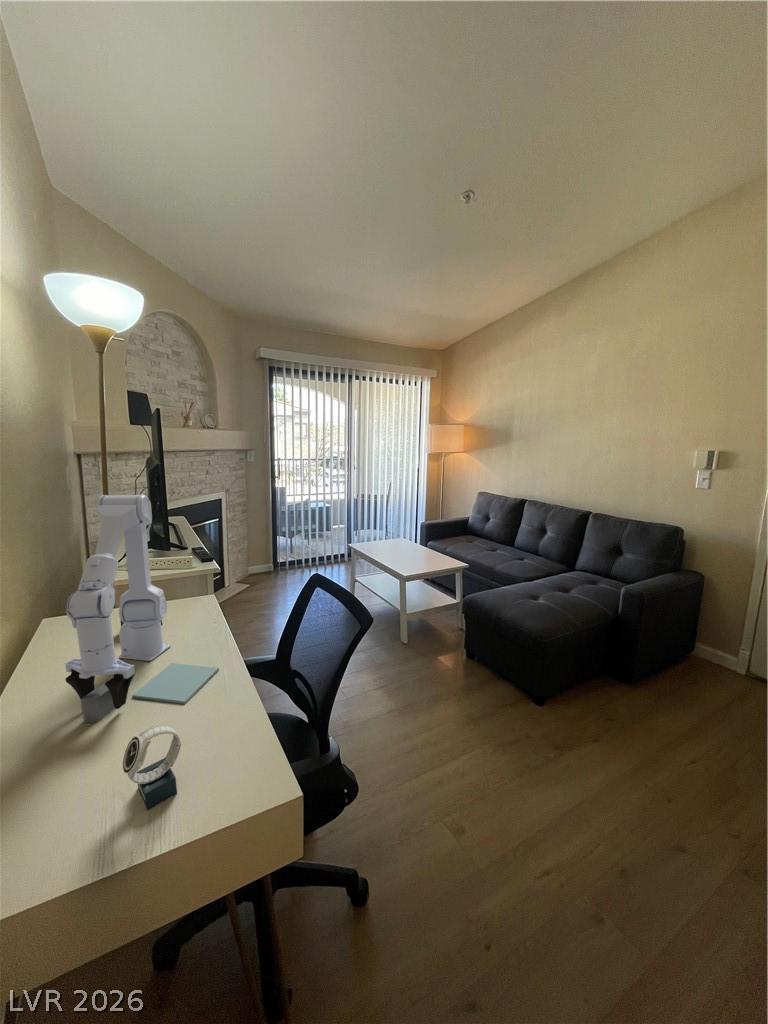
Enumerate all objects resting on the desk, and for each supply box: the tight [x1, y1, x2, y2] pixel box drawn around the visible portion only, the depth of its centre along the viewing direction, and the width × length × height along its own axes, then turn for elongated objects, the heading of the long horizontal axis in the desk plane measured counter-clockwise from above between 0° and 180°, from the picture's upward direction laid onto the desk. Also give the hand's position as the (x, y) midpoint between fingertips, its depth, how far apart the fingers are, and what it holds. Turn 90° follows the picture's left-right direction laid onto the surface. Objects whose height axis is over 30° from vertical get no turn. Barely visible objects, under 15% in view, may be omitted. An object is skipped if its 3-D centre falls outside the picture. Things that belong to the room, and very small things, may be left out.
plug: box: [80, 676, 133, 725], centre depth 84 cm, size 3×11×5 cm, turn 171°
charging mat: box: [132, 662, 220, 705], centre depth 93 cm, size 13×13×1 cm
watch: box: [122, 724, 182, 811], centre depth 63 cm, size 6×8×11 cm
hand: (104, 703), depth 83 cm, fingers open, 7 cm apart
